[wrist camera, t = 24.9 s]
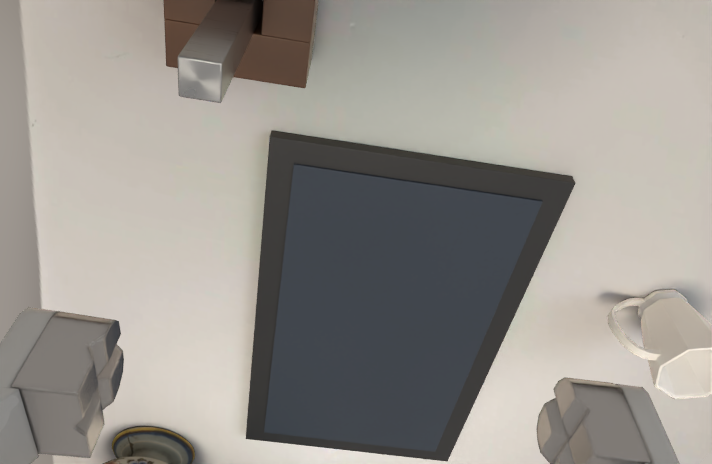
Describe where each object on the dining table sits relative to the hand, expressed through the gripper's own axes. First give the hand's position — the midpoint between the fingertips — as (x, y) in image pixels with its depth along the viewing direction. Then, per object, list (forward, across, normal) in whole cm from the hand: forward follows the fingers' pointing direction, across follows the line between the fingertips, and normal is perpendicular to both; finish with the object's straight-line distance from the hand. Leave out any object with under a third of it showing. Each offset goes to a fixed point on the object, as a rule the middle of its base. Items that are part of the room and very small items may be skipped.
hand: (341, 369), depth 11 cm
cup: (+33, -31, +26) cm, 52 cm away
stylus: (+33, +7, +4) cm, 34 cm away
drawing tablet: (+33, -7, +34) cm, 48 cm away
